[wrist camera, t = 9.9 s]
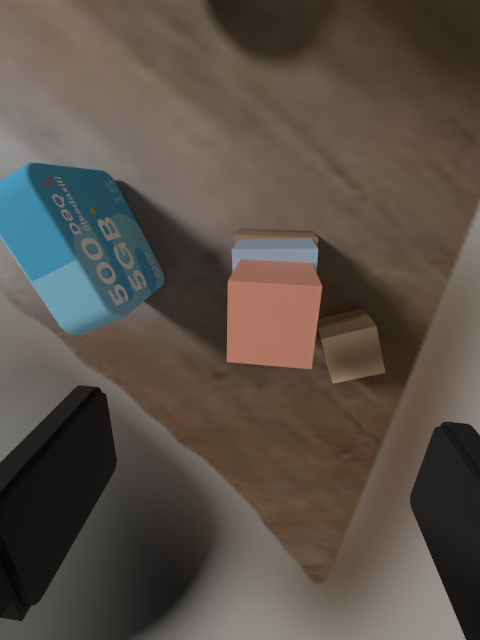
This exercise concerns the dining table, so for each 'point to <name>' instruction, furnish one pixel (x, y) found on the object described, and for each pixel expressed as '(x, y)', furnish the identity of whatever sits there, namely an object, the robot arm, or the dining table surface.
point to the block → (351, 345)
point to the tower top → (276, 250)
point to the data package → (77, 244)
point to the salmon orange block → (273, 313)
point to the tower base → (274, 234)
